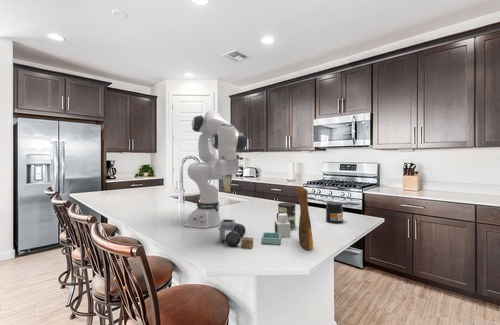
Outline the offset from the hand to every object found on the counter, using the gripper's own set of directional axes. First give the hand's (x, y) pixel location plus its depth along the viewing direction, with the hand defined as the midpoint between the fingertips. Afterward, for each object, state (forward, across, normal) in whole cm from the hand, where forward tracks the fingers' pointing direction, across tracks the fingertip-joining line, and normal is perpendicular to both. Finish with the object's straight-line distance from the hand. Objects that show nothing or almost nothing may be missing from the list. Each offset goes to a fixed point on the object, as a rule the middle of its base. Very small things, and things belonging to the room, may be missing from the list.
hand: (227, 183), depth 126 cm
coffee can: (+29, +32, -24) cm, 49 cm away
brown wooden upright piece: (+29, +7, -37) cm, 48 cm away
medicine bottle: (+29, +18, -24) cm, 42 cm away
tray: (+29, +6, -21) cm, 36 cm away
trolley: (+29, -1, -3) cm, 29 cm away
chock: (+29, -5, -12) cm, 32 cm away
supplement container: (+29, +55, -50) cm, 80 cm away
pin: (+4, 0, 0) cm, 4 cm away
